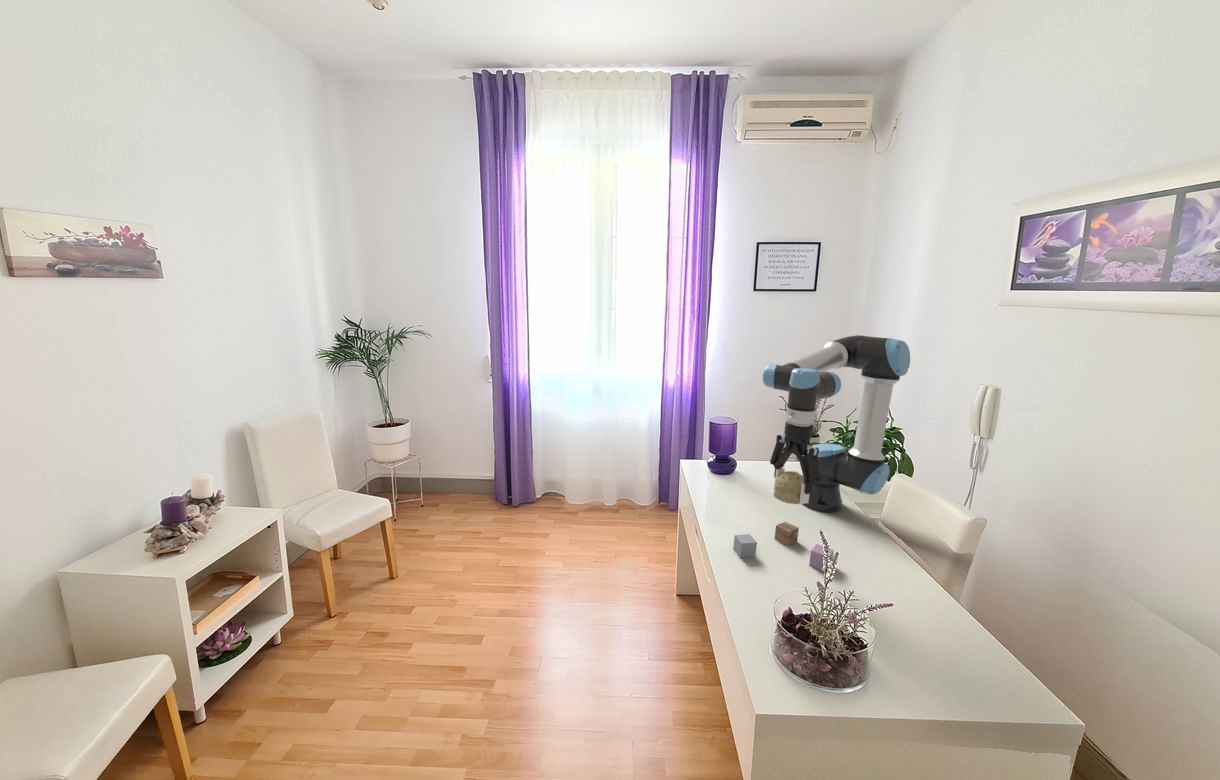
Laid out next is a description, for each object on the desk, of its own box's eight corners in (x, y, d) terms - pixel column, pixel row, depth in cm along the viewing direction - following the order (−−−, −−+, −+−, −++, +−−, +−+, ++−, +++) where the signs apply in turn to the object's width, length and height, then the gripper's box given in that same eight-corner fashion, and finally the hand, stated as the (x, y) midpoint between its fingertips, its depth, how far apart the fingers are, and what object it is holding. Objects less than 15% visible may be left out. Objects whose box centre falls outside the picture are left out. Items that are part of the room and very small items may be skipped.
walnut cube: (783, 535, 164) (785, 521, 163) (797, 541, 160) (798, 527, 159) (774, 539, 161) (776, 525, 160) (787, 546, 157) (789, 531, 156)
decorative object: (798, 517, 141) (821, 491, 139) (769, 496, 141) (792, 469, 140) (790, 506, 150) (812, 481, 148) (764, 486, 150) (785, 461, 149)
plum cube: (814, 558, 150) (816, 543, 149) (831, 565, 147) (833, 550, 146) (809, 565, 147) (811, 550, 146) (826, 572, 144) (828, 556, 143)
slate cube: (748, 548, 155) (749, 534, 154) (755, 557, 150) (757, 542, 149) (733, 549, 154) (734, 535, 153) (740, 558, 149) (741, 543, 148)
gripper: (762, 414, 148) (755, 483, 153) (820, 435, 129) (810, 514, 134) (781, 411, 152) (773, 480, 157) (841, 432, 132) (830, 509, 137)
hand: (790, 495), depth 145 cm, fingers closed on decorative object, 9 cm apart
